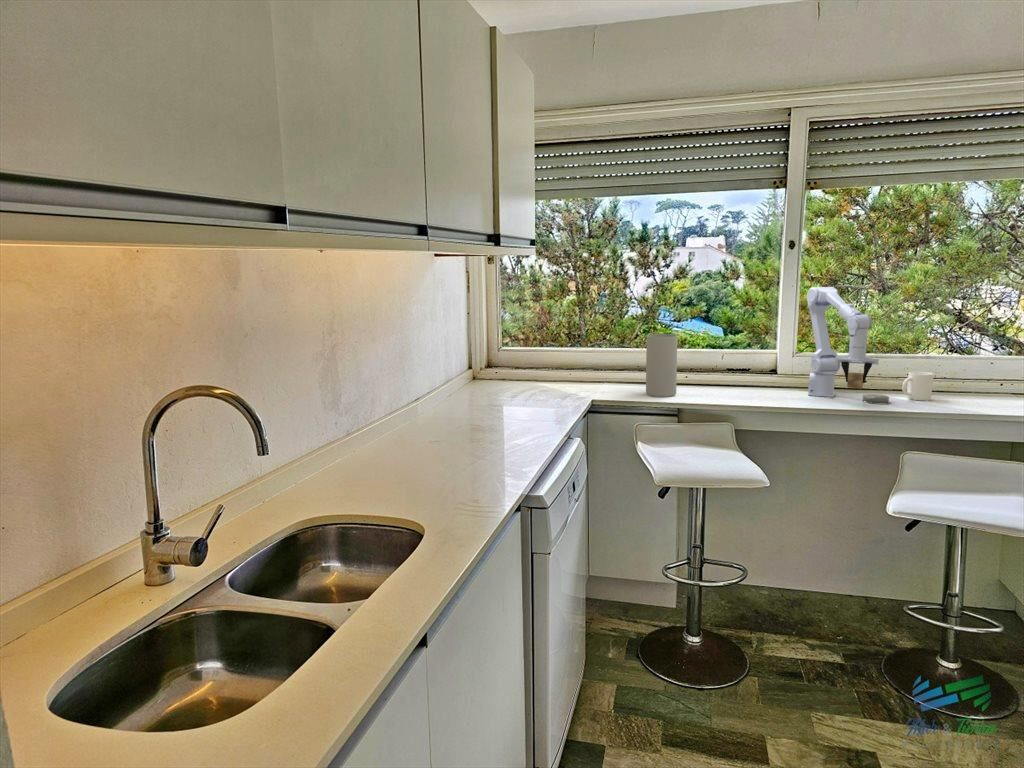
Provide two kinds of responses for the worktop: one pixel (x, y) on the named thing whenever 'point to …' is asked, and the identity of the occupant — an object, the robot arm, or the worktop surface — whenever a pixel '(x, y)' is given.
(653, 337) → the cylinder vase
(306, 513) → the worktop surface
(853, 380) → the walnut cube
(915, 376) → the mug
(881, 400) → the slate pedestal
